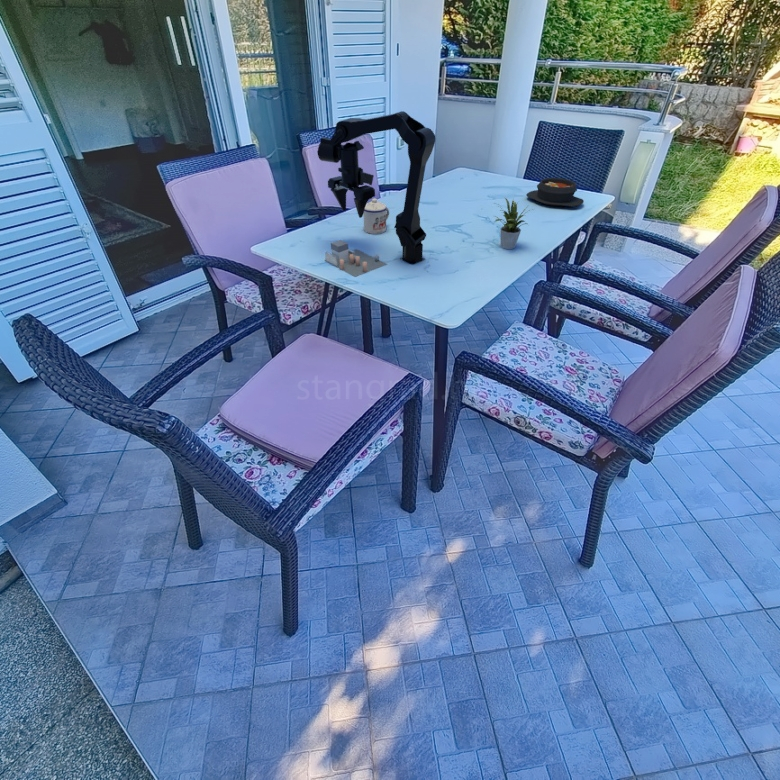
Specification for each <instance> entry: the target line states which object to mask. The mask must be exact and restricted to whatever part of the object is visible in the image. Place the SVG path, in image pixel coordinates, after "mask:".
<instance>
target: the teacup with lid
mask: <svg viewBox="0 0 780 780" xmlns="http://www.w3.org/2000/svg"><path fill="white" fill-rule="evenodd" d="M389 217H390V209H389V208H388V207H387V205H386V204H385V203H383V202H380V201H378V199H377V198H372V199H371V201H369V202H367V204H366V206H365V210H364V213H363V230H364V232H366V233H367V234H370V235H378V234H380V235H381V234H383V233H385V232H386V231H387V220H388V219H389Z"/></svg>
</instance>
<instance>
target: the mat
mask: <svg viewBox="0 0 780 780" xmlns="http://www.w3.org/2000/svg"><path fill="white" fill-rule="evenodd" d="M351 250H352V251H354V252H355V256H360V266H356V263H354V264H350V259H349V261H347V262H344V270H342V271H343V272H345V273H347V274H348V275H350V276H352V277H354V278H356V277H360V276H362V275H364V274H367V273H370V272H372V271H374V270H378V269H379V268H382V267H385V266H387V265H388V263H386V262H384V261H382V260H381V259H379V262H375V256H372V255H369V254H368V253H365V252H363V251H362V250H360V249H357V248H355V249H351ZM324 261H325V262H327V261H326V260H325V259H324ZM363 262H367V272H363ZM327 263H328V264H330V265H332V266H334V267H336V268H338V269H339V270H341V269H340V264H339V266H338V267H337V266H335V265H333V264H331V263H329V262H327Z"/></svg>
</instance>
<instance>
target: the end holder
mask: <svg viewBox="0 0 780 780" xmlns="http://www.w3.org/2000/svg"><path fill="white" fill-rule="evenodd" d="M352 250H353V249H350V248H348V253H349V255H350V254H353V255H354V256H355V252H354V251H352ZM324 256H325V258H324V261H325V260H326V261H327V263H328V262H329V263H328V264H330V263H331V264H330V265H332V264H333V265H332V266H334V265H335V266H334V267H336V266H337V267H338V266H339V259H338V257H336V256H335V255H333V254H332V252H331V253H330V252H328V251H325V252H324ZM349 259H350V258H349ZM326 261H325V262H326ZM337 267H336V268H337Z"/></svg>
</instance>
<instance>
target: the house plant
mask: <svg viewBox="0 0 780 780" xmlns="http://www.w3.org/2000/svg"><path fill="white" fill-rule="evenodd" d="M504 200H505V202H506V206H507V207H506V209H507V211H508V212H507V211H506V210H505V209H503V208H502V206H500V204H499V203H495V202H494V203H493V204H496V205H497V207H499V208H500V210H499V211H501V212H502V213H503V215H502V216H503V217H504V218H505V220H506V221H505V220H504V219H502V218H499V217H498V216H496V215H494V217H496V219H495V221H493V222H494V223H495V222H498V221H500V222H503V223H502V224H503V226H501V227H500V248H502V249H505V250H513V248H514V249H515V248H516V246H517V242H518V240H519V237H520V234H521V231H522V229H521V228H520V227H521V226H523V225H529V223H527V222H526V221H525V220H523V219H521V218H522V217H524V216H525V217H526V215H525V213H524V212H525V211H526V209H527V208H528V207H529V205H527V206H526V207H525V208H524V209H523V211H522V212H521V213H520V214H519V211H518V204H519V202H516V201H515V200H514V198H513V199H512V201H511V205H510V201H509V200H508V199H507V198H506V197H504ZM532 210H533V211H534V209H533V208H532V209H529V210H527V211H526V213H528V212H530V211H532ZM517 211H518V212H517ZM523 213H524V214H523ZM518 215H519V216H518ZM524 222H525V223H524ZM522 223H523V224H522ZM520 224H521V225H520Z"/></svg>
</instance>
